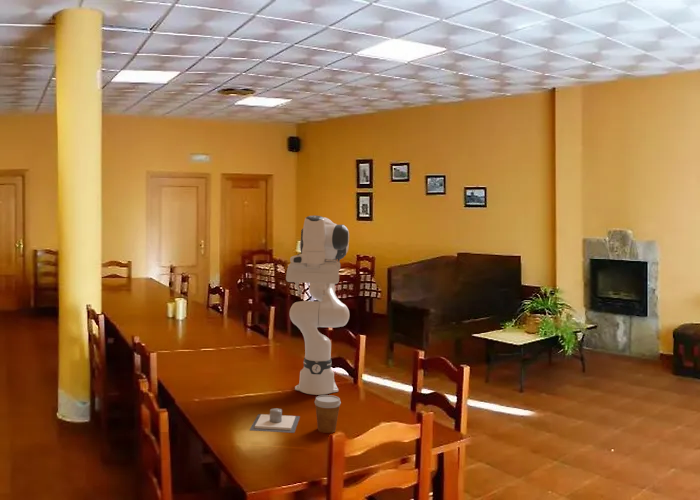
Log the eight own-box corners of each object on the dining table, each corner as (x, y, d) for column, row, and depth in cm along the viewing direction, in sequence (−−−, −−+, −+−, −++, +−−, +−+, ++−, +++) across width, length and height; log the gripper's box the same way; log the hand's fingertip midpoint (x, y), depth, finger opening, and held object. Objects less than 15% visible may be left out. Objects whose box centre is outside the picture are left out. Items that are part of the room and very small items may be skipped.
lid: (261, 416, 251) (261, 403, 251) (295, 418, 251) (295, 405, 250) (254, 428, 238) (255, 414, 238) (291, 430, 238) (291, 416, 237)
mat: (258, 415, 254) (258, 414, 254) (300, 417, 253) (300, 416, 253) (249, 431, 236) (249, 430, 236) (294, 434, 235) (294, 432, 235)
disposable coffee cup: (339, 427, 245) (340, 395, 244) (339, 436, 235) (341, 403, 234) (313, 426, 244) (314, 394, 243) (312, 435, 235) (314, 402, 234)
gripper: (340, 258, 257) (339, 294, 258) (287, 256, 257) (286, 292, 258) (340, 260, 251) (339, 296, 252) (286, 258, 250) (285, 294, 251)
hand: (312, 294), depth 255 cm, fingers open, 8 cm apart
